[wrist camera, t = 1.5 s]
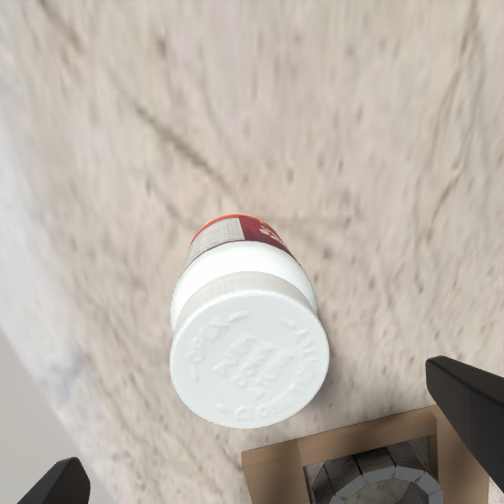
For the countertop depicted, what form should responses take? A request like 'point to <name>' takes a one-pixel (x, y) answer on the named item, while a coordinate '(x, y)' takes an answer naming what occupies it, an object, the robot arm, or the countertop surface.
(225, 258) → the pill bottle
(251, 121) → the countertop surface
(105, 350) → the countertop surface
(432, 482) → the socket board
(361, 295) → the countertop surface
